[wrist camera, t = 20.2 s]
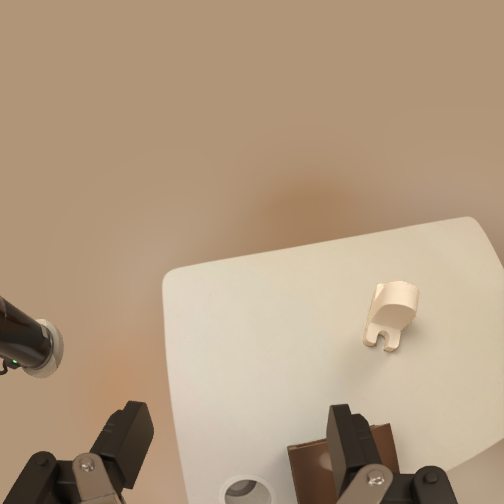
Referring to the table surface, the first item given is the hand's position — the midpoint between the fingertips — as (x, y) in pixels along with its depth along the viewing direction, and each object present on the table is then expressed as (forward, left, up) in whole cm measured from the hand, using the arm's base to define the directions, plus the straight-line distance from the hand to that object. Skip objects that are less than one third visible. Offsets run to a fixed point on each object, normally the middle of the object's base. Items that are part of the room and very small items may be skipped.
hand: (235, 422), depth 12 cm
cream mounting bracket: (+24, +3, -32) cm, 40 cm away
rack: (+5, -11, -32) cm, 34 cm away
